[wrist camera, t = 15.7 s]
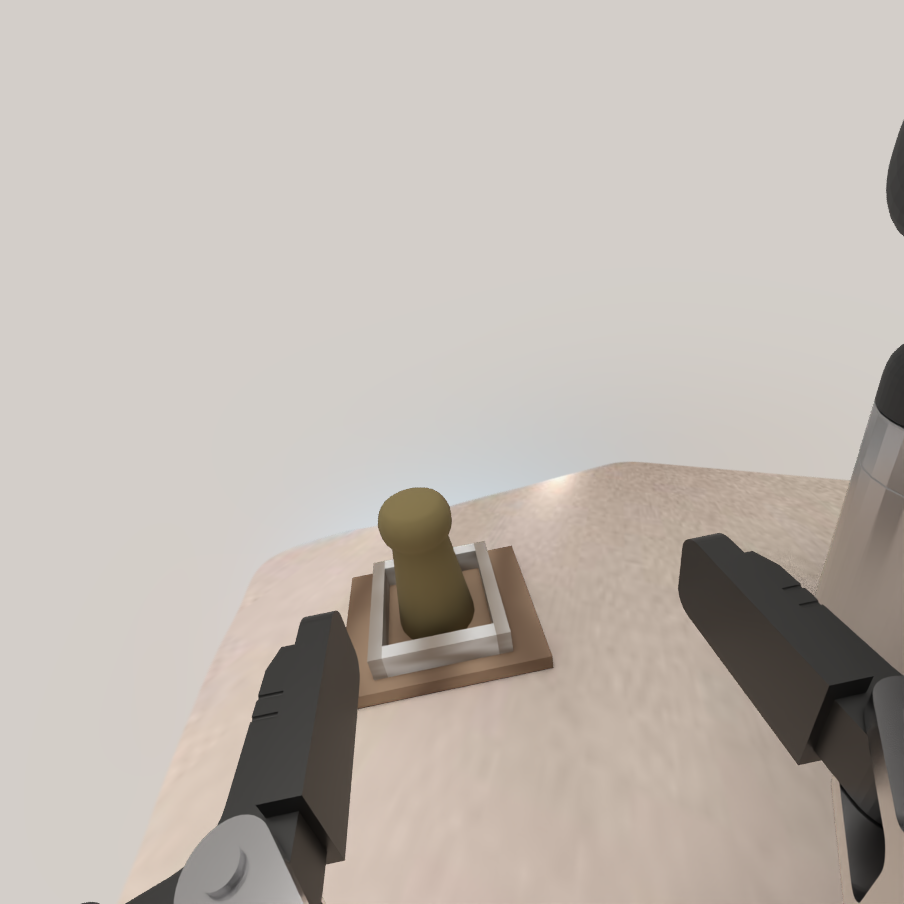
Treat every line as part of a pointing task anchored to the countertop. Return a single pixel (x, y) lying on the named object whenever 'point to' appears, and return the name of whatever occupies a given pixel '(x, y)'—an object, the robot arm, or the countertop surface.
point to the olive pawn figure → (425, 563)
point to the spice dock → (450, 654)
